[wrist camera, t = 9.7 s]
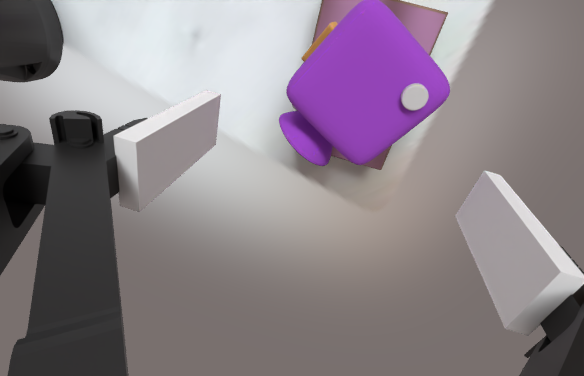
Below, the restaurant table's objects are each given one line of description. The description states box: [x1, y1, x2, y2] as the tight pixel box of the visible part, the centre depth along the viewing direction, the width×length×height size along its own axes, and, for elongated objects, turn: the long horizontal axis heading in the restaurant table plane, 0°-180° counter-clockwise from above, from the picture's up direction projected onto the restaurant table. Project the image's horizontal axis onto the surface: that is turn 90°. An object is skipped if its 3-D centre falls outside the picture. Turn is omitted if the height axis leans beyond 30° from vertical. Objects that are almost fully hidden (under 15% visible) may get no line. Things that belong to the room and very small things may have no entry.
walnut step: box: [297, 0, 448, 170], centre depth 33 cm, size 11×16×4 cm
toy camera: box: [279, 0, 450, 166], centre depth 27 cm, size 11×14×10 cm
